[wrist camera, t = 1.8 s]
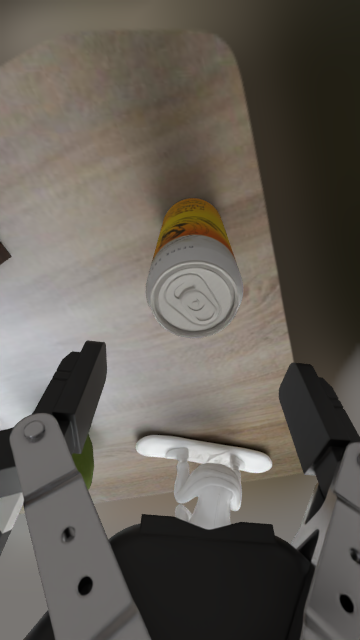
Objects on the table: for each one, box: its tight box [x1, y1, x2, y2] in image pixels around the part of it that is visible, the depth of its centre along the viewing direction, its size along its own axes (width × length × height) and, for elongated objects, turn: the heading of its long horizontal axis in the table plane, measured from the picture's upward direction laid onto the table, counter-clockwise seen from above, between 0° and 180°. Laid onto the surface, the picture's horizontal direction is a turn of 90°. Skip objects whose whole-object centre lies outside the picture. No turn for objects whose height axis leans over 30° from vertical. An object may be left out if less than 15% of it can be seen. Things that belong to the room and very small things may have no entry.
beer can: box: [146, 198, 243, 338], centre depth 23 cm, size 6×6×15 cm
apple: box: [72, 435, 94, 489], centre depth 46 cm, size 9×8×12 cm
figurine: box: [136, 435, 272, 530], centre depth 46 cm, size 26×13×17 cm, turn 76°
